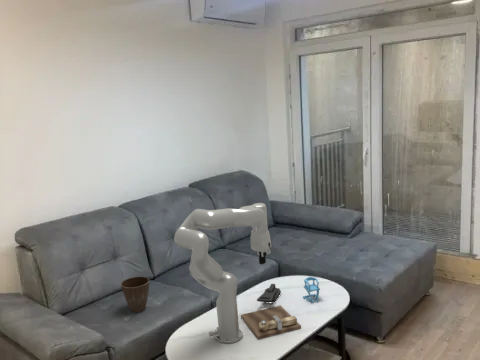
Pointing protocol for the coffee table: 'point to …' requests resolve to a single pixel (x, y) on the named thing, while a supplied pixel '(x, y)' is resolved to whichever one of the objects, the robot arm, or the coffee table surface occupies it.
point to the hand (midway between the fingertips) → (262, 263)
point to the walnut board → (266, 314)
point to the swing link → (273, 324)
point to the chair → (311, 289)
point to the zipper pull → (270, 294)
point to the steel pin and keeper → (278, 322)
